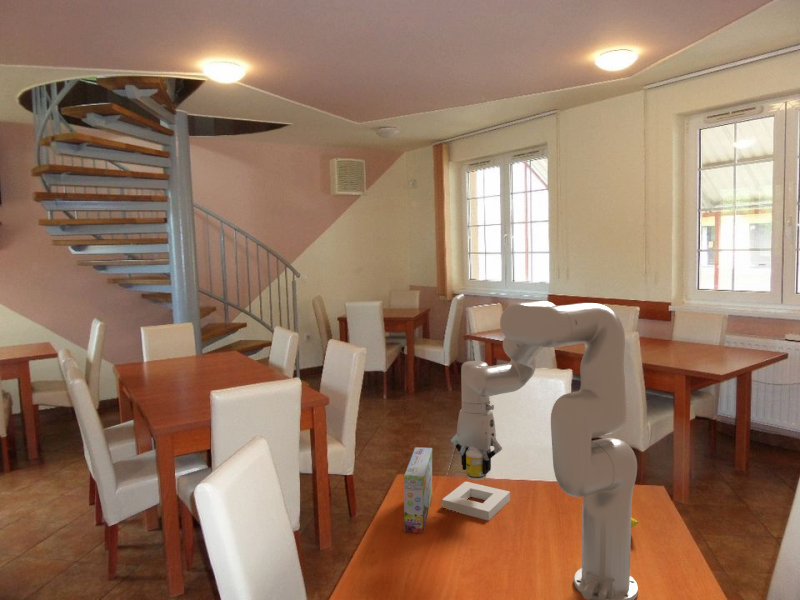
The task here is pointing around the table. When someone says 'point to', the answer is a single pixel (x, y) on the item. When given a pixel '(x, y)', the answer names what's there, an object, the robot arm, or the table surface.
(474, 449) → the supplement bottle
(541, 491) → the table surface
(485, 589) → the table surface
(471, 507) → the holder plate
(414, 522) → the snack box
